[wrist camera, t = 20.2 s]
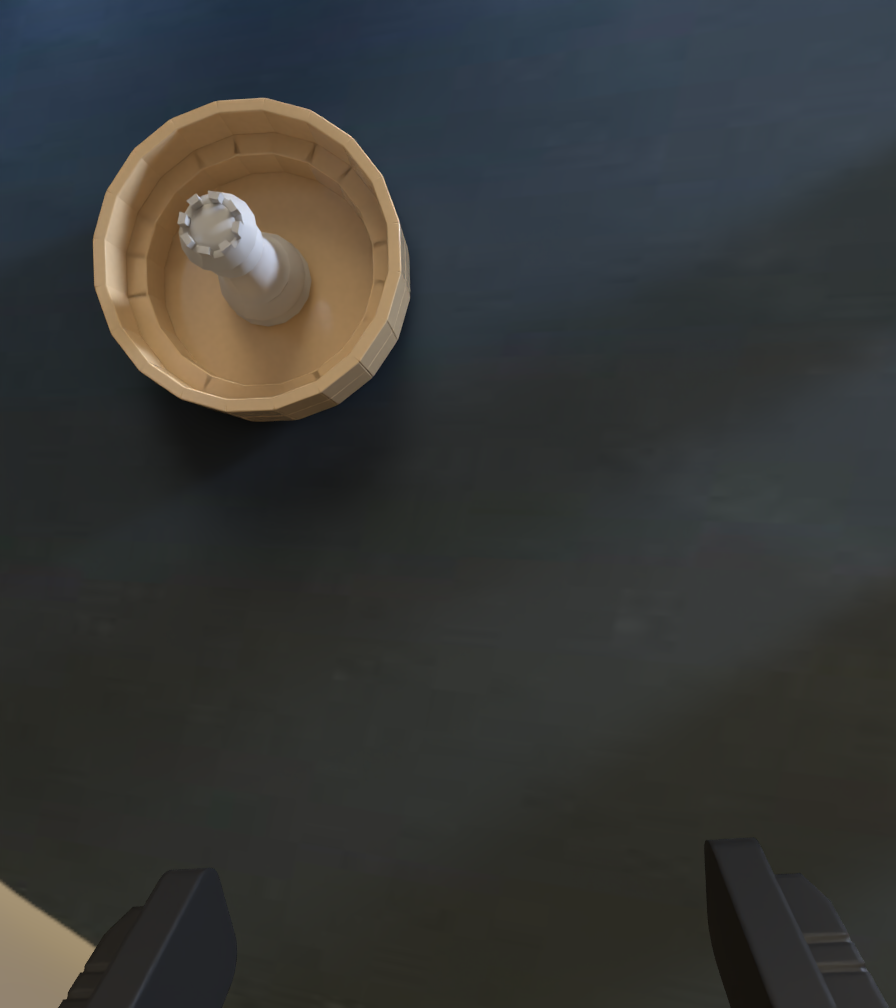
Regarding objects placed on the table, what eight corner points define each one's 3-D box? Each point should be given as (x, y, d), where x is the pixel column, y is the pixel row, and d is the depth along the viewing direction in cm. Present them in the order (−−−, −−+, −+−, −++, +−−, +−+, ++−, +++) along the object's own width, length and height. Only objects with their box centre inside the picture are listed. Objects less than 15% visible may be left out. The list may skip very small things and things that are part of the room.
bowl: (406, 140, 36) (395, 88, 31) (415, 417, 36) (405, 405, 31) (136, 156, 37) (88, 108, 32) (145, 427, 37) (98, 417, 32)
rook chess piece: (294, 341, 36) (239, 295, 28) (214, 310, 36) (137, 255, 28) (326, 259, 35) (280, 188, 27) (246, 228, 36) (177, 149, 28)
